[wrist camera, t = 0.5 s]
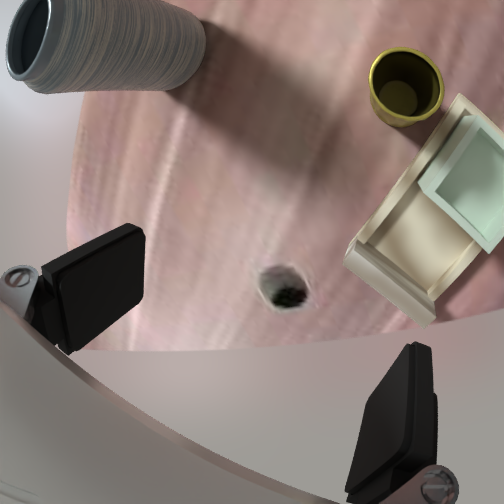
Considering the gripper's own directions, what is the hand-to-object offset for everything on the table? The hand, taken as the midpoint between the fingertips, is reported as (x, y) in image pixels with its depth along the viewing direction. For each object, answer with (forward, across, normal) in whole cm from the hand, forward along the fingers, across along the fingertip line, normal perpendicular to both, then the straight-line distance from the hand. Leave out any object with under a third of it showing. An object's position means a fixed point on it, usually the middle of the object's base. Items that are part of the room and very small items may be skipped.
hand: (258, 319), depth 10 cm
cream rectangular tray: (+28, -11, -1) cm, 31 cm away
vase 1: (+29, +26, -10) cm, 40 cm away
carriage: (+27, -12, -5) cm, 30 cm away
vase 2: (+29, -2, -10) cm, 30 cm away
